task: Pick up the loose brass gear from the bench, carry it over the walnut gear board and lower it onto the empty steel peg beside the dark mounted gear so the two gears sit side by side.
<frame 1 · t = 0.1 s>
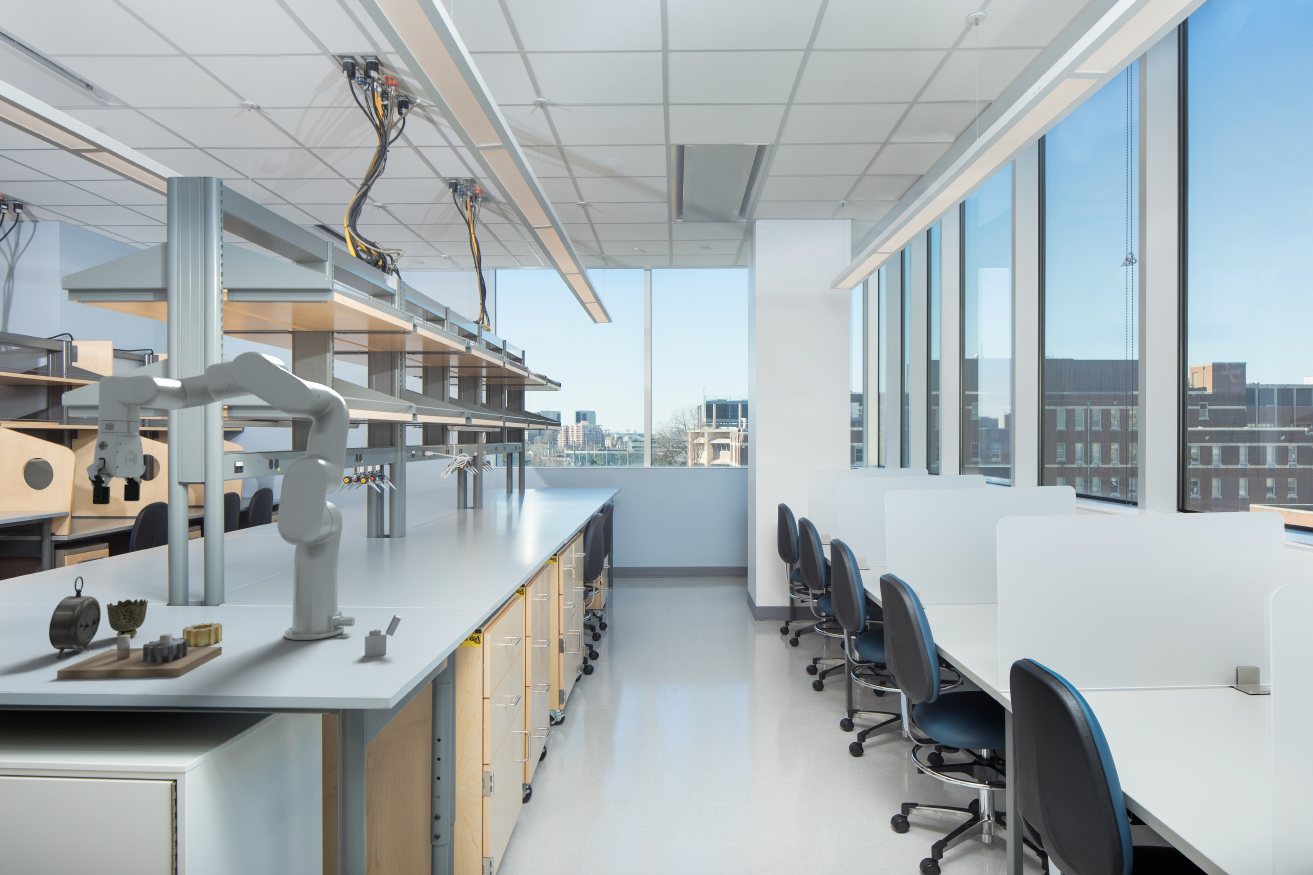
hand: (116, 502, 153), 31 cm above the table, tool pointing down, fingers open, 9 cm apart
alarm clock: (76, 653, 141), on the table
cup: (126, 637, 153), on the table
gear board: (144, 665, 132), on the table
brass gear: (202, 642, 148), on the table
lighter: (382, 654, 141), on the table
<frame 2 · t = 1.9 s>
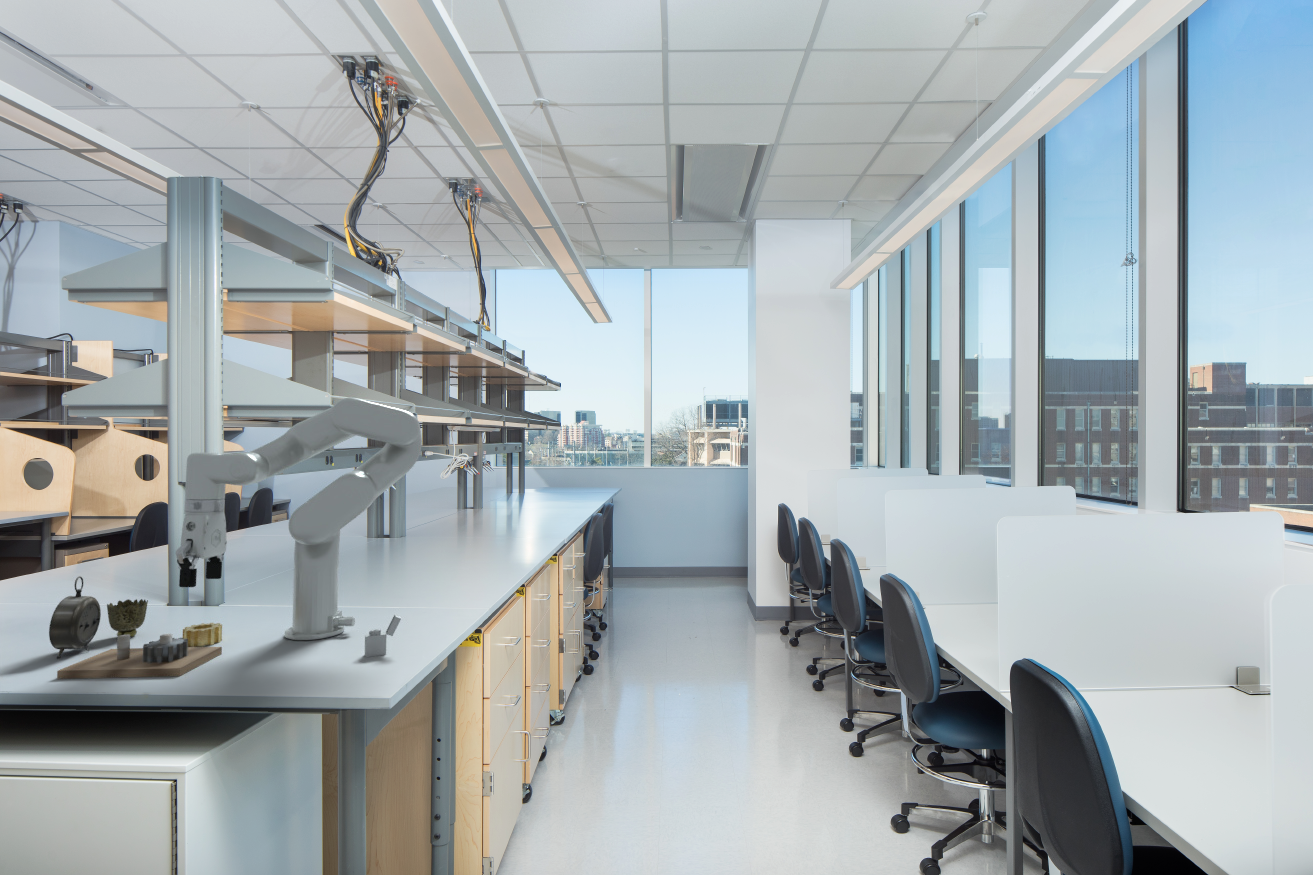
hand: (200, 582, 149), 14 cm above the table, tool pointing down, fingers open, 9 cm apart
nothing on the table moved.
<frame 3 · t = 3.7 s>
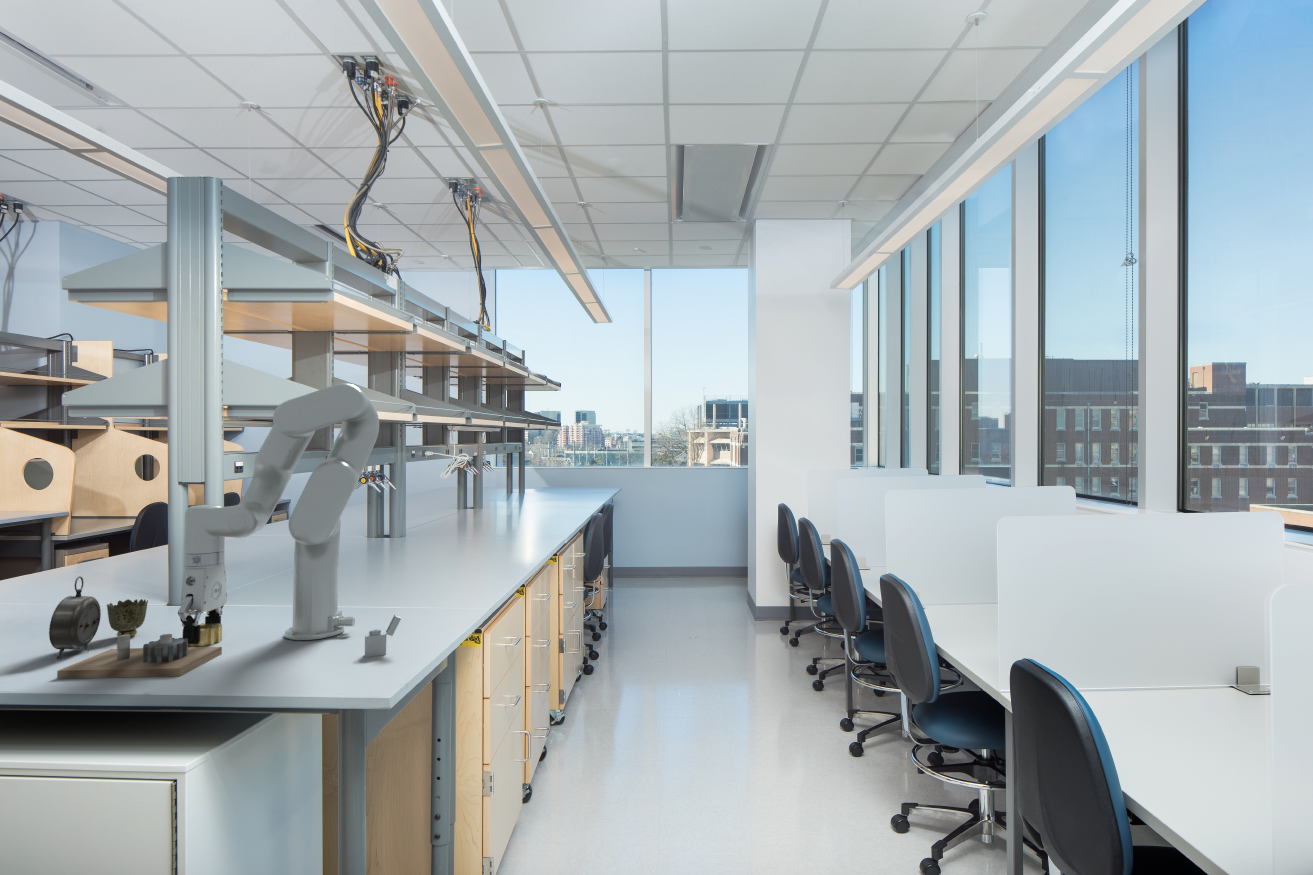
hand: (202, 637, 149), 1 cm above the table, tool pointing down, fingers closed on brass gear, 7 cm apart
brass gear: (202, 642, 148), on the table, touching gripper
everything else where it was.
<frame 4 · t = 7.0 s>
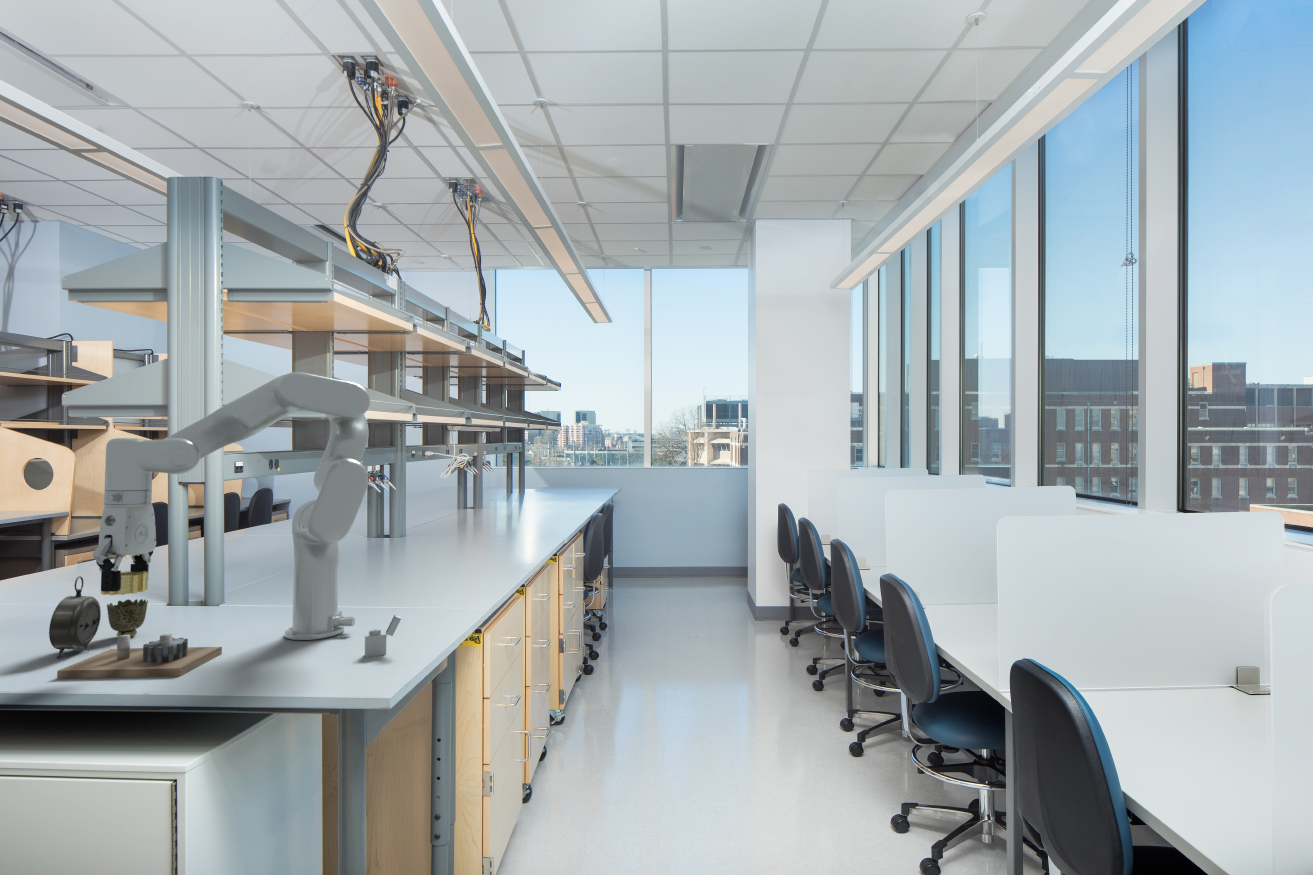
hand: (125, 586, 132), 16 cm above the table, tool pointing down, fingers closed on brass gear, 7 cm apart
brass gear: (124, 591, 132), point 15 cm above the table, touching gripper
everything else where it was.
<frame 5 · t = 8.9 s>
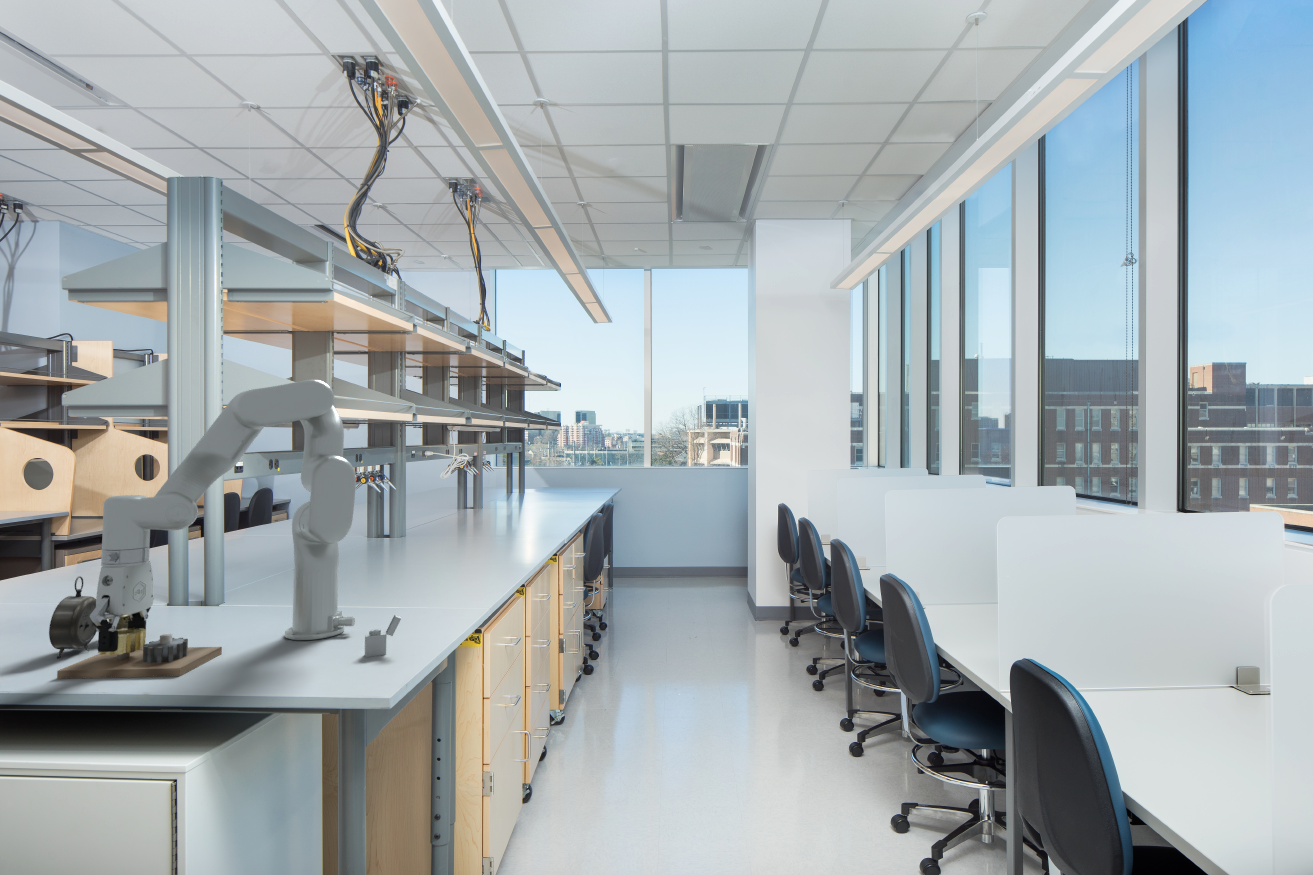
hand: (122, 644, 132), 4 cm above the table, tool pointing down, fingers closed on brass gear, 7 cm apart
brass gear: (121, 649, 132), point 3 cm above the table, touching gripper
everything else where it was.
when the fingers open (3 cm above the table, at t = 10.3 s): brass gear stays where it is, resting on gear board.
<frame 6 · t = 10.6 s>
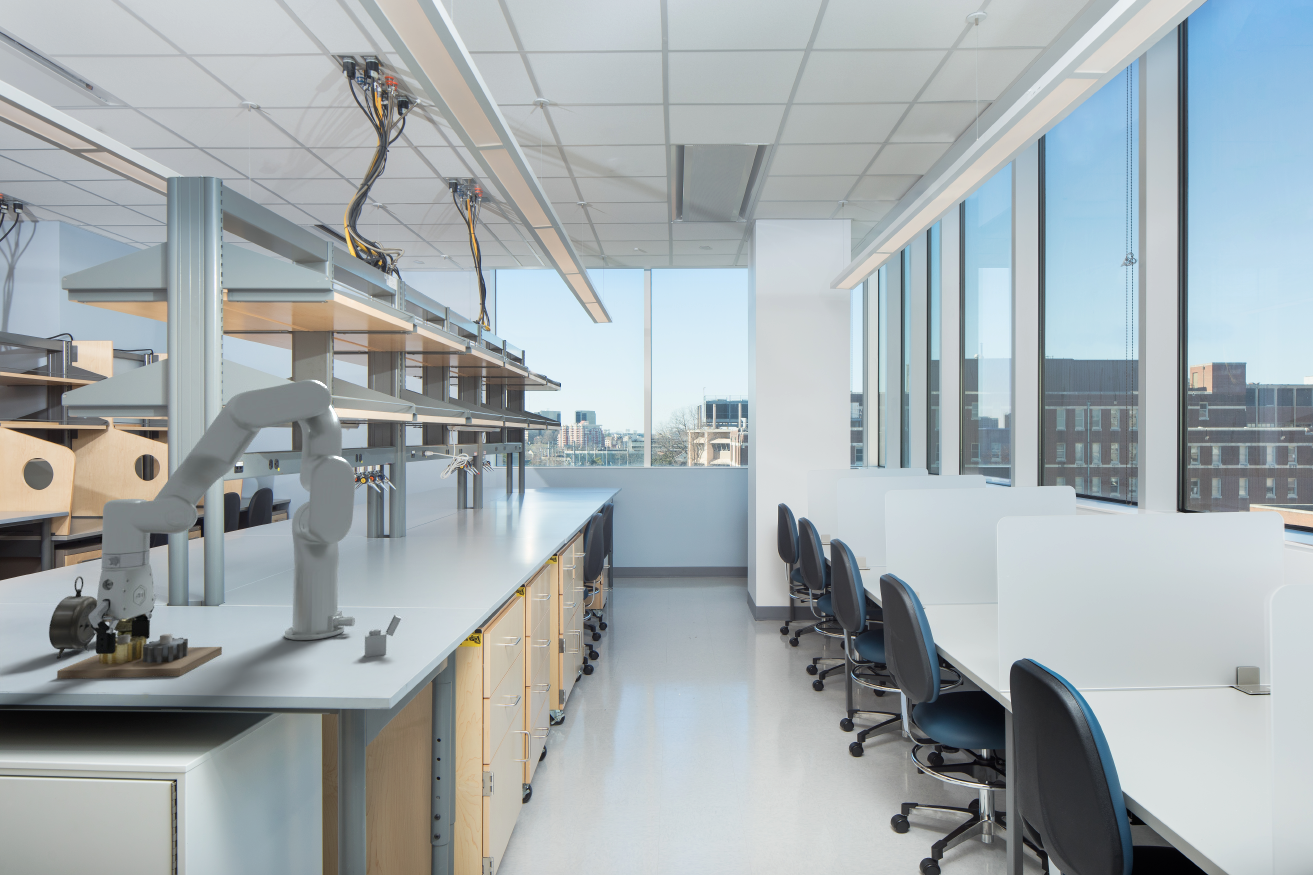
hand: (123, 645, 132), 4 cm above the table, tool pointing down, fingers open, 9 cm apart
brass gear: (123, 658, 132), point 1 cm above the table, touching gear board
everything else where it was.
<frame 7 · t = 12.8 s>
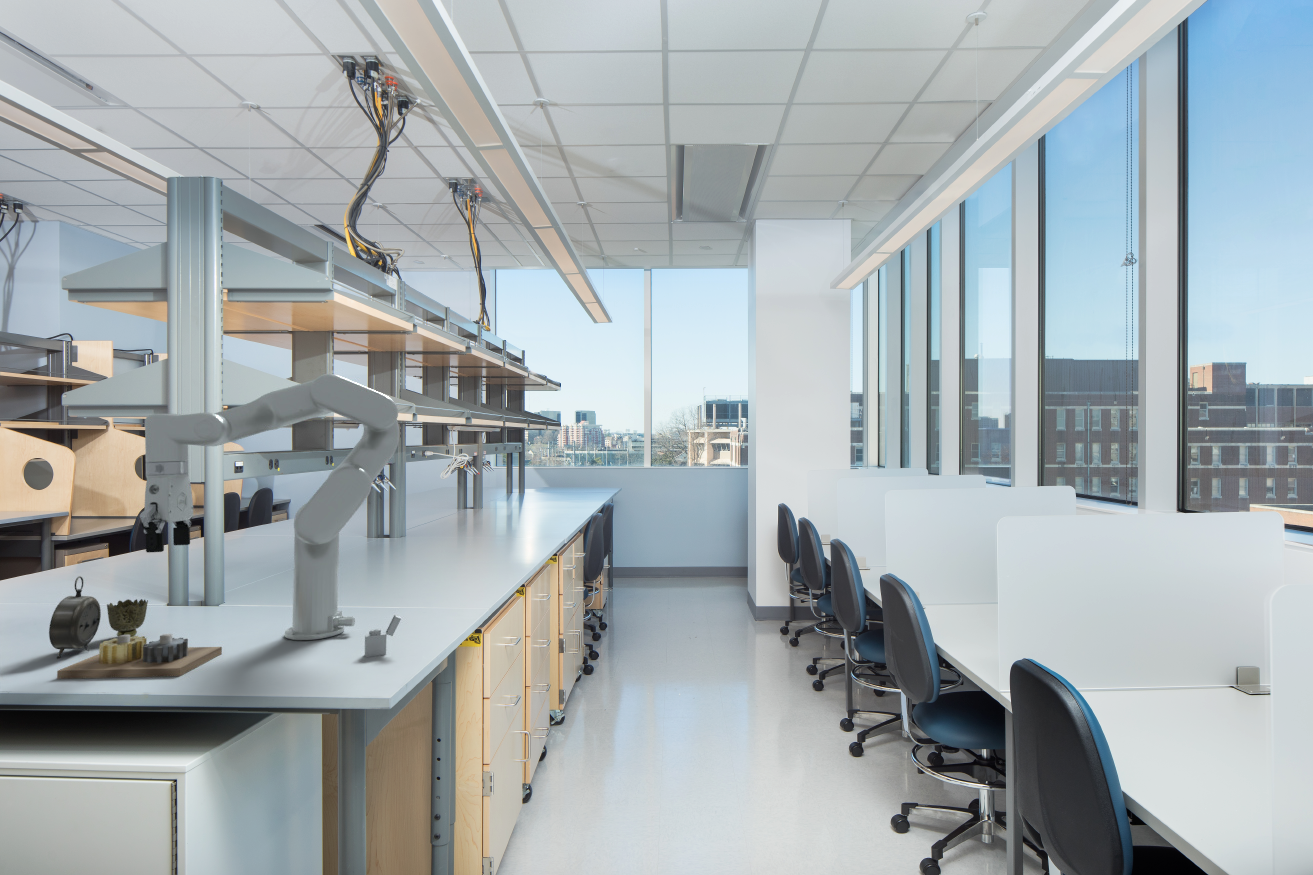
hand: (168, 548, 144), 22 cm above the table, tool pointing down, fingers open, 9 cm apart
nothing on the table moved.
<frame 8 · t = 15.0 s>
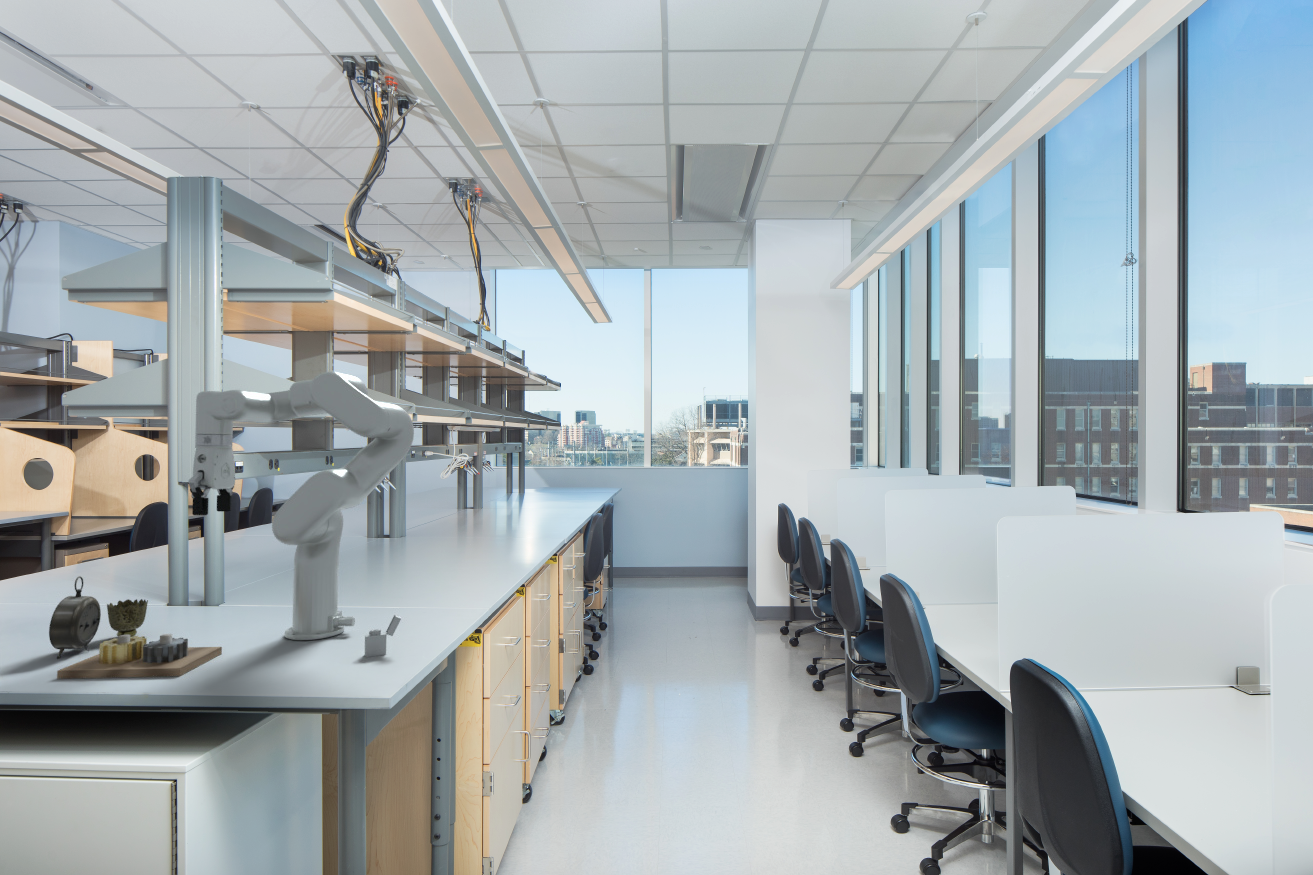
hand: (212, 513, 159), 28 cm above the table, tool pointing down, fingers open, 9 cm apart
nothing on the table moved.
at the end: brass gear 0.0 cm from the target spot on the gear board, point 1.5 cm above the gear board's base; brass gear tilted 0°; the gripper is holding nothing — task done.
